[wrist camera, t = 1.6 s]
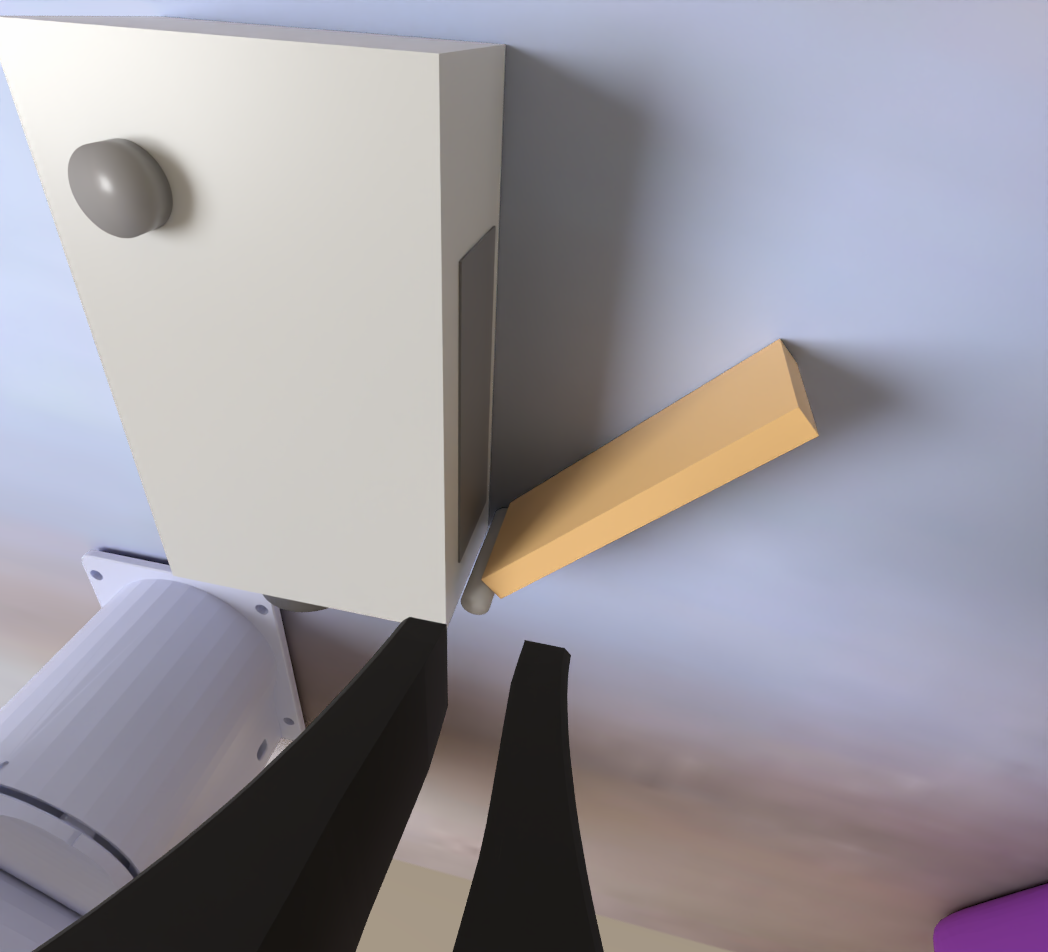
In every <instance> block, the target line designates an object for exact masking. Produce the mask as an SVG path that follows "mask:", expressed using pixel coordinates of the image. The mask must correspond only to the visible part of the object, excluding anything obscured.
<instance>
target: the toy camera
mask: <svg viewBox="0 0 1048 952" xmlns="http://www.w3.org/2000/svg"><path fill="white" fill-rule="evenodd" d="M933 942H934V951H935V952H1048V883H1047V884H1044V885H1040V886H1037V887H1034V888H1031V889H1027V890H1024V891H1021V892H1017V893H1014V894H1011V895H1007V896H1004V897H1001V898H997V899H994V900H991V901H988V902H985V903H981V904H978V905H975V906H972V907H969V908H966V909H963V910H960V911H958V912H955V913H953V914H950V915H948V916H947V917H945V918H944V919H942V920H940V922H939V923H938V924H937V925H936V927H935V929H934V935H933Z"/></svg>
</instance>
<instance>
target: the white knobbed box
mask: <svg viewBox="0 0 1048 952" xmlns="http://www.w3.org/2000/svg"><path fill="white" fill-rule="evenodd" d="M505 48H506V44H494V43H482V42H470V41H457V40H445V39H432V38H420V37H408V36H395V35H383V34H370V33H358V32H346V31H333V30H321V29H309V28H296V27H284V26H271V25H259V24H247V23H234V22H222V21H210V20H197V19H185V18H172V17H160V16H0V62H1V65H2V68H3V71H4V73H5V76H6V79H7V82H8V85H9V88H10V91H11V94H12V97H13V100H14V103H15V106H16V109H17V112H18V115H19V118H20V121H21V124H22V127H23V130H24V133H25V136H26V139H27V142H28V145H29V148H30V151H31V154H32V157H33V160H34V163H35V166H36V169H37V172H38V175H39V178H40V181H41V184H42V187H43V190H44V193H45V196H46V199H47V202H48V205H49V208H50V211H51V214H52V216H53V219H54V222H55V225H56V228H57V231H58V234H59V237H60V240H61V243H62V246H63V249H64V252H65V255H66V258H67V261H68V264H69V267H70V270H71V273H72V276H73V279H74V282H75V285H76V288H77V291H78V294H79V297H80V300H81V303H82V306H83V309H84V312H85V315H86V318H87V321H88V324H89V327H90V330H91V333H92V336H93V339H94V342H95V345H96V348H97V351H98V354H99V357H100V360H101V362H102V365H103V368H104V371H105V374H106V377H107V380H108V383H109V386H110V389H111V392H112V395H113V398H114V401H115V404H116V407H117V410H118V413H119V416H120V419H121V422H122V425H123V428H124V431H125V434H126V437H127V440H128V443H129V446H130V449H131V452H132V455H133V458H134V461H135V464H136V467H137V470H138V473H139V476H140V479H141V482H142V485H143V488H144V491H145V494H146V497H147V500H148V503H149V505H150V508H151V511H152V514H153V517H154V520H155V523H156V526H157V529H158V532H159V535H160V538H161V541H162V544H163V547H164V550H165V553H166V556H167V559H168V562H169V565H170V568H171V571H172V574H173V576H177V577H182V578H187V579H191V580H196V581H201V582H206V583H211V584H216V585H221V586H226V587H231V588H235V589H240V590H245V591H250V592H255V593H260V594H263V596H264V597H265V598H266V600H267V601H269V602H270V603H271V604H273V605H274V606H276V607H278V608H281V609H284V610H288V611H294V612H312V611H318V610H323V609H326V608H333V609H338V610H343V611H348V612H352V613H357V614H362V615H367V616H372V617H377V618H382V619H387V620H391V621H396V622H402V621H403V620H405V619H406V618H408V617H413V618H418V619H423V620H428V621H433V622H438V623H443V624H447V628H448V625H449V623H450V621H451V618H452V616H453V613H454V611H455V608H456V606H457V603H458V601H459V598H460V596H461V593H462V591H463V588H464V586H465V583H466V581H467V578H468V576H469V573H470V571H471V568H472V566H473V563H474V561H475V558H476V556H477V553H478V551H479V548H480V546H481V544H482V541H483V539H484V536H485V534H486V531H487V529H488V516H489V488H490V461H491V433H492V406H493V378H494V351H495V323H496V296H497V268H498V241H499V213H500V186H501V158H502V131H503V103H504V76H505Z"/></svg>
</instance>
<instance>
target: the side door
mask: <svg viewBox="0 0 1048 952" xmlns="http://www.w3.org/2000/svg"><path fill="white" fill-rule="evenodd" d="M817 436H819V434H818V431H817V428H816V424H815V421H814V418H813V414H812V411H811V408H810V404H809V401H808V398H807V395H806V391H805V388H804V385H803V381H802V378H801V375H800V371H799V368H798V365H797V363H796V361H795V360H794V358H793V357H792V355H791V354H790V353H789V351H788V350H787V348H786V347H785V345H784V344H783V342H782V341H781V340H780V339H778V340H777V341H775V342H773V343H772V344H770V345H769V346H767V347H765V348H764V349H762V350H760V351H759V352H757V353H755V354H754V355H752V356H750V357H749V358H747V359H746V360H744V361H742V362H741V363H739V364H737V365H736V366H734V367H732V368H731V369H729V370H727V371H726V372H724V373H722V374H721V375H719V376H718V377H716V378H714V379H713V380H711V381H709V382H708V383H706V384H704V385H703V386H701V387H699V388H698V389H696V390H695V391H693V392H691V393H690V394H688V395H686V396H685V397H683V398H681V399H680V400H678V401H676V402H675V403H673V404H672V405H670V406H668V407H667V408H665V409H663V410H662V411H660V412H658V413H657V414H655V415H653V416H652V417H650V418H649V419H647V420H645V421H644V422H642V423H640V424H639V425H637V426H635V427H634V428H632V429H630V430H629V431H627V432H625V433H624V434H622V435H621V436H619V437H617V438H616V439H614V440H612V441H611V442H609V443H607V444H606V445H604V446H602V447H601V448H599V449H598V450H596V451H594V452H593V453H591V454H589V455H588V456H586V457H584V458H583V459H581V460H579V461H578V462H576V463H575V464H573V465H571V466H570V467H568V468H566V469H565V470H563V471H561V472H560V473H558V474H556V475H555V476H553V477H552V478H550V479H548V480H547V481H545V482H543V483H542V484H540V485H538V486H537V487H535V488H533V489H532V490H530V491H528V492H527V493H525V494H524V495H522V496H520V497H519V498H517V499H515V500H514V501H512V502H510V504H509V507H508V508H501V509H499V510H497V511H496V513H495V515H494V518H493V520H492V523H491V525H490V528H489V530H488V533H487V535H486V538H485V540H484V543H483V545H482V548H481V550H480V553H479V555H478V558H477V560H476V563H475V565H474V568H473V570H472V573H471V575H470V578H469V580H468V583H467V585H466V588H465V590H464V593H463V595H462V598H461V605H462V607H463V608H464V609H465V610H466V611H468V612H469V613H472V614H476V615H482V614H485V613H486V612H488V610H489V608H490V605H491V602H492V599H493V596H494V593H495V594H496V595H497V596H498V597H499V598H503V597H505V596H507V595H509V594H511V593H513V592H515V591H517V590H519V589H521V588H523V587H525V586H527V585H529V584H531V583H533V582H535V581H537V580H539V579H540V578H542V577H544V576H546V575H548V574H550V573H552V572H554V571H556V570H558V569H560V568H562V567H564V566H566V565H568V564H570V563H572V562H574V561H576V560H578V559H580V558H581V557H583V556H585V555H587V554H589V553H591V552H593V551H595V550H597V549H599V548H601V547H603V546H605V545H607V544H609V543H611V542H613V541H615V540H617V539H619V538H620V537H622V536H624V535H626V534H628V533H630V532H632V531H634V530H636V529H638V528H640V527H642V526H644V525H646V524H648V523H650V522H652V521H654V520H656V519H658V518H659V517H661V516H663V515H665V514H667V513H669V512H671V511H673V510H675V509H677V508H679V507H681V506H683V505H685V504H687V503H689V502H691V501H693V500H695V499H697V498H698V497H700V496H702V495H704V494H706V493H708V492H710V491H712V490H714V489H716V488H718V487H720V486H722V485H724V484H726V483H728V482H730V481H732V480H734V479H736V478H737V477H739V476H741V475H743V474H745V473H747V472H749V471H751V470H753V469H755V468H757V467H759V466H761V465H763V464H765V463H767V462H769V461H771V460H773V459H775V458H777V457H778V456H780V455H782V454H784V453H786V452H788V451H790V450H792V449H794V448H796V447H798V446H800V445H802V444H804V443H806V442H808V441H810V440H812V439H814V438H816V437H817Z"/></svg>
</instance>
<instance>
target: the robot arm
mask: <svg viewBox="0 0 1048 952" xmlns="http://www.w3.org/2000/svg"><path fill="white" fill-rule="evenodd" d="M82 564H83V566H84V569H85V571H86V573H87V575H88V578H89V580H90V582H91V585H92V587H93V589H94V591H95V594H96V596H97V598H98V601H99V603H100V605H101V607H102V609H101V610H100V611H99V612H98V613H97V614H96V615H95V616H94V617H93V618H92V619H91V620H90V621H89V622H88V623H87V624H86V625H85V626H84V627H83V628H81V629H80V630H79V631H78V632H77V633H76V634H75V635H74V636H73V637H72V638H71V639H70V640H69V641H68V642H67V643H66V644H65V645H64V646H63V647H62V648H61V649H60V650H59V651H58V652H57V653H56V654H55V655H54V656H53V657H52V658H51V659H50V660H49V661H48V662H47V663H46V664H45V665H44V666H43V667H42V668H41V669H40V670H39V671H38V672H37V673H36V674H35V675H34V676H33V677H32V678H31V679H30V680H29V681H28V682H27V683H26V684H25V685H24V686H23V687H22V688H21V689H20V690H19V691H18V692H17V693H16V694H15V695H14V696H13V697H12V698H11V699H10V700H9V701H8V702H7V703H6V704H5V705H4V706H3V707H2V708H1V709H0V952H356V949H357V946H358V943H359V941H360V938H361V935H362V933H363V930H364V927H365V925H366V922H367V919H368V917H369V914H370V911H371V909H372V906H373V904H374V902H375V899H376V897H377V894H378V892H379V890H380V887H381V885H382V882H383V880H384V878H385V875H386V873H387V870H388V868H389V866H390V863H391V861H392V858H393V856H394V853H395V851H396V849H397V846H398V844H399V841H400V839H401V837H402V834H403V832H404V829H405V827H406V824H407V822H408V820H409V817H410V815H411V812H412V810H413V807H414V805H415V803H416V800H417V798H418V795H419V793H420V790H421V788H422V785H423V783H424V780H425V778H426V775H427V773H428V770H429V768H430V764H431V761H432V758H433V754H434V751H435V748H436V744H437V741H438V738H439V734H440V731H441V727H442V724H443V720H444V717H445V713H446V710H447V707H448V693H447V624H443V623H438V622H433V621H428V620H423V619H418V618H413V617H408V618H406V619H405V620H403V621H402V622H401V623H400V625H399V626H398V627H397V628H396V630H395V631H394V632H393V633H392V635H391V636H390V637H389V638H388V639H387V641H386V642H385V643H384V644H383V645H382V647H381V648H380V649H379V650H378V651H377V652H376V654H375V655H374V656H373V657H372V658H371V659H370V660H369V662H368V663H367V664H366V665H365V666H364V667H363V668H362V670H361V671H360V672H359V673H358V674H357V675H356V676H355V677H354V678H353V679H352V681H351V682H350V683H349V684H348V685H347V686H346V687H345V688H344V689H343V690H342V691H341V693H340V694H339V695H338V696H337V697H336V698H335V699H334V700H333V701H332V702H331V703H330V704H329V705H328V706H327V707H326V708H325V709H324V710H323V711H322V712H321V713H320V714H319V716H318V717H317V718H316V719H315V720H314V721H313V722H312V723H311V724H310V725H309V726H308V727H307V728H306V729H305V724H304V719H303V715H302V710H301V706H300V701H299V696H298V692H297V687H296V683H295V678H294V673H293V669H292V664H291V660H290V655H289V650H288V646H287V641H286V637H285V632H284V628H283V623H282V618H281V614H280V609H279V608H278V607H276V606H274V605H273V604H271V603H270V602H269V601H267V600H266V598H265V597H264V596H263V594H260V593H255V592H250V591H245V590H240V589H235V588H231V587H226V586H221V585H216V584H211V583H206V582H201V581H196V580H191V579H187V578H182V577H177V576H173V574H172V571H171V568H170V565H166V564H161V563H156V562H151V561H146V560H141V559H136V558H131V557H126V556H121V555H116V554H112V553H107V552H102V551H97V550H90V551H88V552H87V553H86V554H85V555H84V556H83V557H82ZM570 657H571V655H570V654H569V653H568V651H567V650H566V649H565V648H561V647H556V646H551V645H546V644H541V643H536V642H531V641H526V640H525V642H524V645H523V648H522V651H521V654H520V657H519V660H518V663H517V666H516V669H515V672H514V675H513V679H512V682H511V686H510V692H509V697H508V703H507V709H506V715H505V720H504V726H503V732H502V738H501V743H500V749H499V755H498V761H497V766H496V772H495V778H494V784H493V789H492V795H491V801H490V807H489V813H488V818H487V824H486V828H485V833H484V837H483V842H482V846H481V851H480V856H479V860H478V863H477V867H476V870H475V874H474V878H473V881H472V885H471V889H470V892H469V896H468V899H467V903H466V906H465V910H464V914H463V917H462V921H461V925H460V928H459V931H458V935H457V938H456V942H455V946H454V949H453V952H604V951H603V947H602V942H601V938H600V934H599V929H598V924H597V920H596V915H595V910H594V906H593V901H592V896H591V891H590V886H589V880H588V875H587V870H586V864H585V859H584V853H583V847H582V841H581V835H580V829H579V823H578V816H577V809H576V802H575V794H574V785H573V777H572V768H571V759H570V748H569V735H568V713H567V687H568V671H569V664H570ZM281 738H284V739H288V740H292V741H293V742H292V743H291V744H290V745H289V746H287V747H286V748H285V749H284V750H283V751H282V752H281V753H280V754H279V755H278V756H277V757H276V758H275V759H274V760H273V761H272V762H271V763H270V764H269V765H267V766H266V764H267V762H268V760H269V759H270V757H271V755H272V753H273V752H274V750H275V748H276V746H277V745H278V743H279V741H280V739H281ZM265 766H266V767H265ZM264 767H265V768H264Z"/></svg>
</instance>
